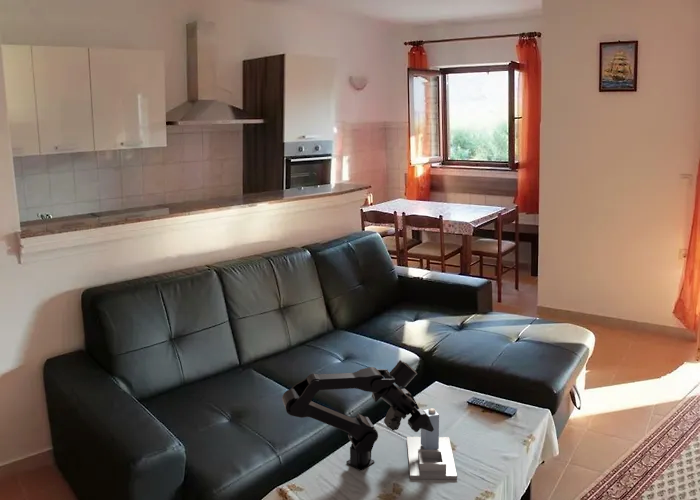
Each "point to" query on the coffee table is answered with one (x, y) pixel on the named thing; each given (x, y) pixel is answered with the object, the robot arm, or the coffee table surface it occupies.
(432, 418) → the block
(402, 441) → the coffee table surface
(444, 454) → the plate
